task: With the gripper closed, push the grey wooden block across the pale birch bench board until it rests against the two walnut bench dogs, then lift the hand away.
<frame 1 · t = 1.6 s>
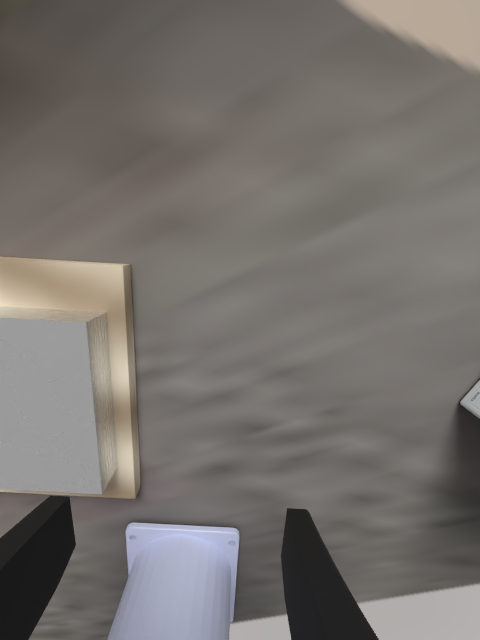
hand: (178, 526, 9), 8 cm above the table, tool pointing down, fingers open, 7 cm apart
bench board: (5, 380, 17), on the table
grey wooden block: (52, 392, 16), point 1 cm above the table, touching bench board
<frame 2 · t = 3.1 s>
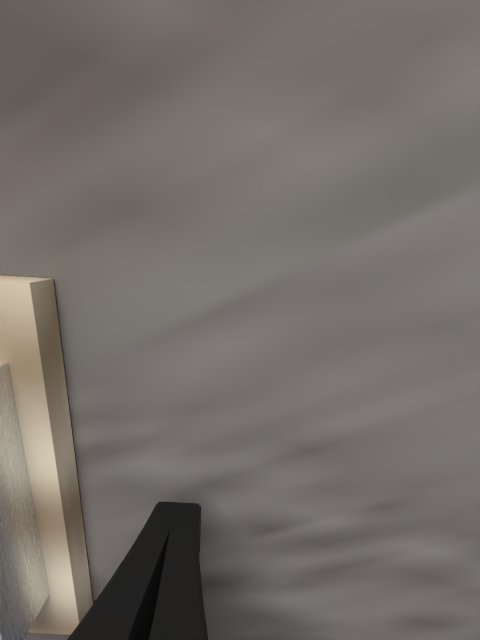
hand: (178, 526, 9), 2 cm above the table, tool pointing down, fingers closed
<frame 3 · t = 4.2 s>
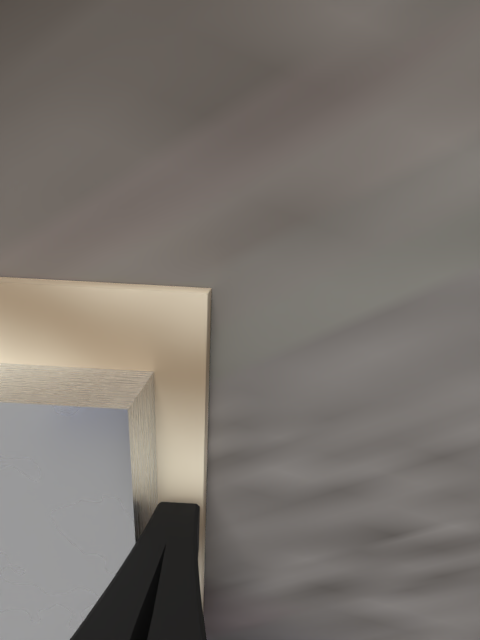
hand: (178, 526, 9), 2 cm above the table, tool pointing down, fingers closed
bench board: (0, 469, 11), on the table
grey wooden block: (58, 495, 10), point 1 cm above the table, touching gripper
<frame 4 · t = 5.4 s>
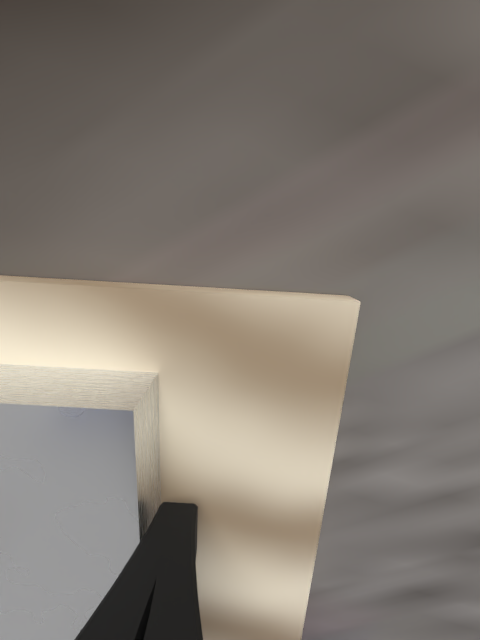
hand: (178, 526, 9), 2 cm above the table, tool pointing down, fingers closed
bench board: (111, 474, 11), on the table
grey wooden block: (61, 496, 10), point 1 cm above the table, touching bench board, gripper
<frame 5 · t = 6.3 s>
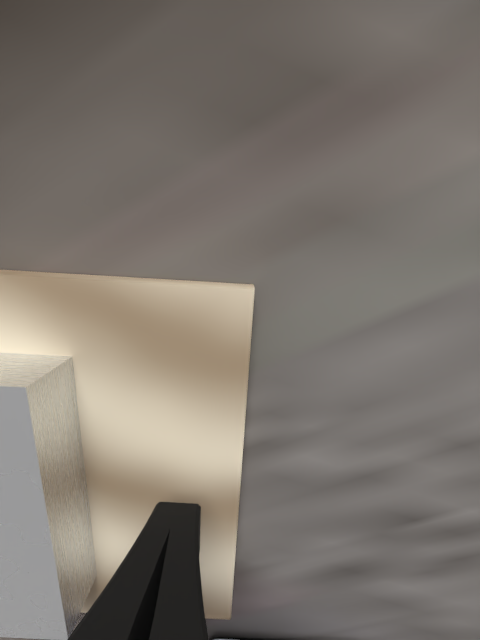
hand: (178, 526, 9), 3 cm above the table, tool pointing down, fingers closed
bench board: (45, 455, 11), on the table
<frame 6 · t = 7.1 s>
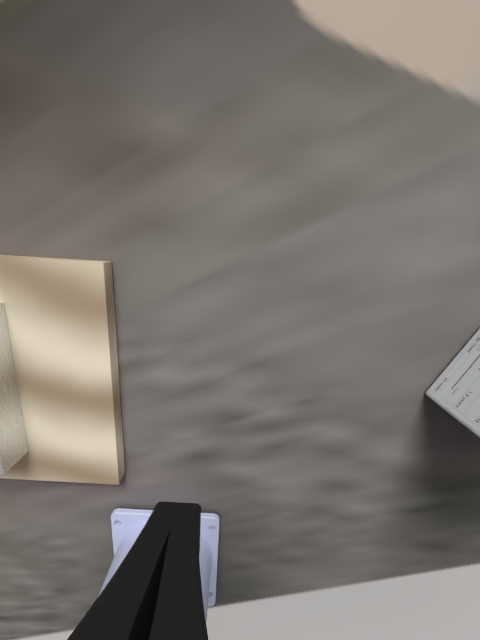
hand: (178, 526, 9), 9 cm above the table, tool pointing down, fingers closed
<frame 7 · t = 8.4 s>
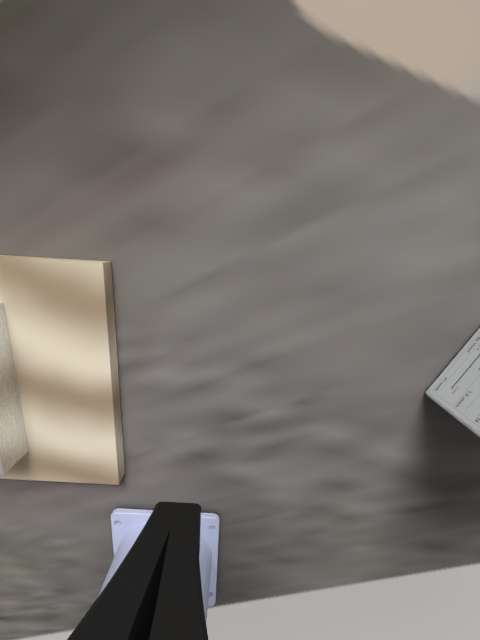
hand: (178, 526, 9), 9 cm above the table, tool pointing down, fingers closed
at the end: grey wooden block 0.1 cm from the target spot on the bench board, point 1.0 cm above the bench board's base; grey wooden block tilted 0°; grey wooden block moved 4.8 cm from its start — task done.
